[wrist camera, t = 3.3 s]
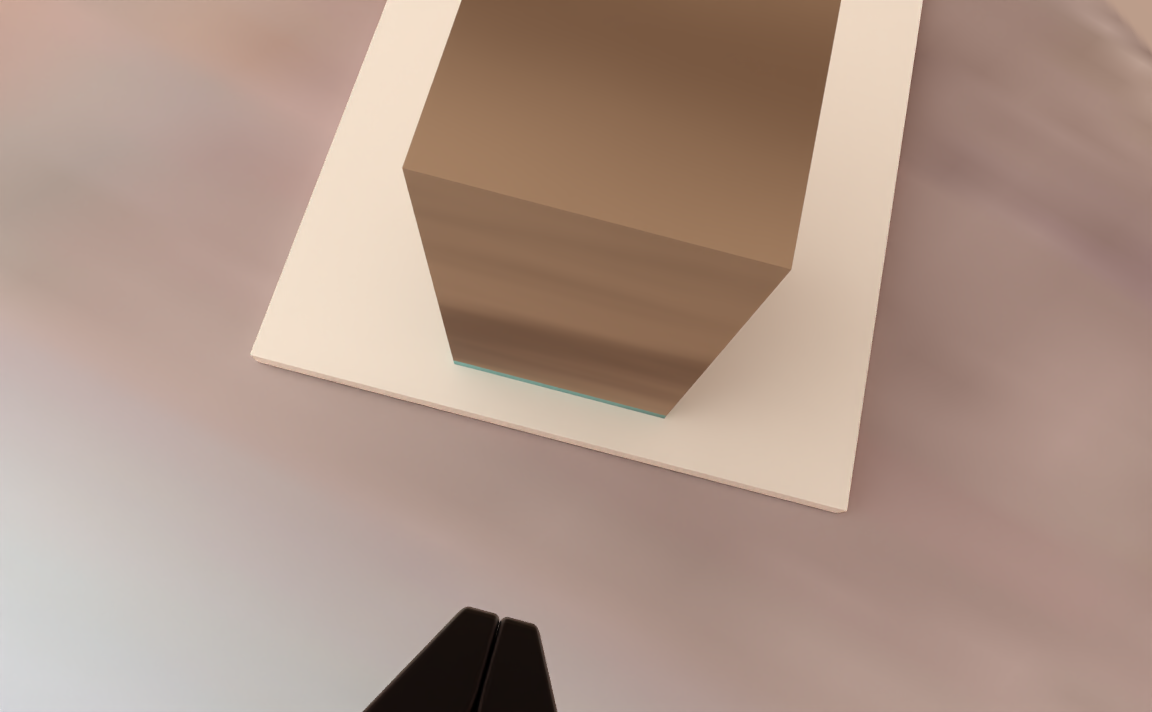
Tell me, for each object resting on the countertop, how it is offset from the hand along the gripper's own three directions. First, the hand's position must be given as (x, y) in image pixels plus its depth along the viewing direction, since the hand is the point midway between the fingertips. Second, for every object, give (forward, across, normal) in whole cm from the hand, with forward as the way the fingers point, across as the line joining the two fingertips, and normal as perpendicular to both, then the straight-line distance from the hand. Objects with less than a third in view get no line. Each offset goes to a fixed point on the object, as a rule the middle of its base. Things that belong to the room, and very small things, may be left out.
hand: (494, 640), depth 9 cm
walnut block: (+12, 0, +1) cm, 12 cm away
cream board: (+15, 0, -2) cm, 16 cm away
